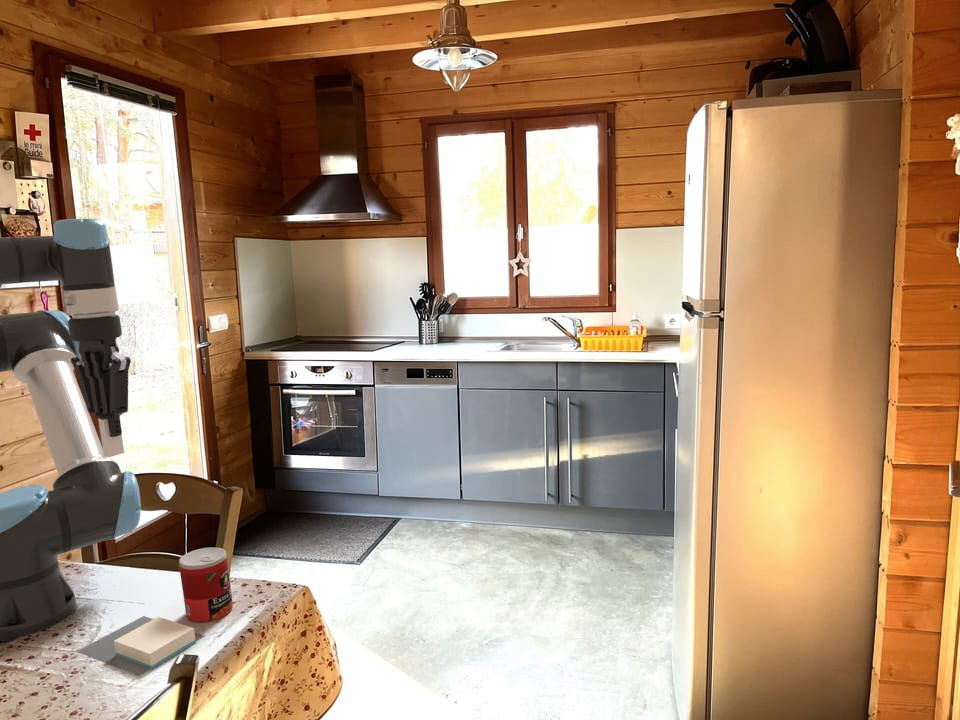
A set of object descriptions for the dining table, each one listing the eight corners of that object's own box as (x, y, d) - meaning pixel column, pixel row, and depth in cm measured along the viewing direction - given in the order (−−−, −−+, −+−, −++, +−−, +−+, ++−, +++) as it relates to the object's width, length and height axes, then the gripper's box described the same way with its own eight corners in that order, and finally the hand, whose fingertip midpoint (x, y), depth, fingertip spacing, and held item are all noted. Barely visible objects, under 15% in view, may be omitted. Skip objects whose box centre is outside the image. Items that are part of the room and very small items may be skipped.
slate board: (77, 654, 115) (76, 651, 115) (144, 619, 125) (143, 615, 125) (139, 679, 107) (138, 675, 107) (205, 639, 117) (204, 635, 117)
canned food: (218, 627, 121) (210, 566, 119) (176, 625, 122) (168, 565, 121) (242, 604, 128) (235, 547, 126) (202, 603, 130) (195, 546, 128)
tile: (113, 640, 112) (149, 653, 108) (158, 616, 119) (193, 628, 115) (116, 655, 113) (151, 668, 108) (160, 630, 120) (195, 642, 115)
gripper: (47, 318, 116) (69, 457, 119) (95, 317, 109) (117, 465, 113) (92, 313, 122) (111, 445, 126) (139, 312, 116) (158, 451, 119)
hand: (114, 454), depth 119 cm, fingers closed
